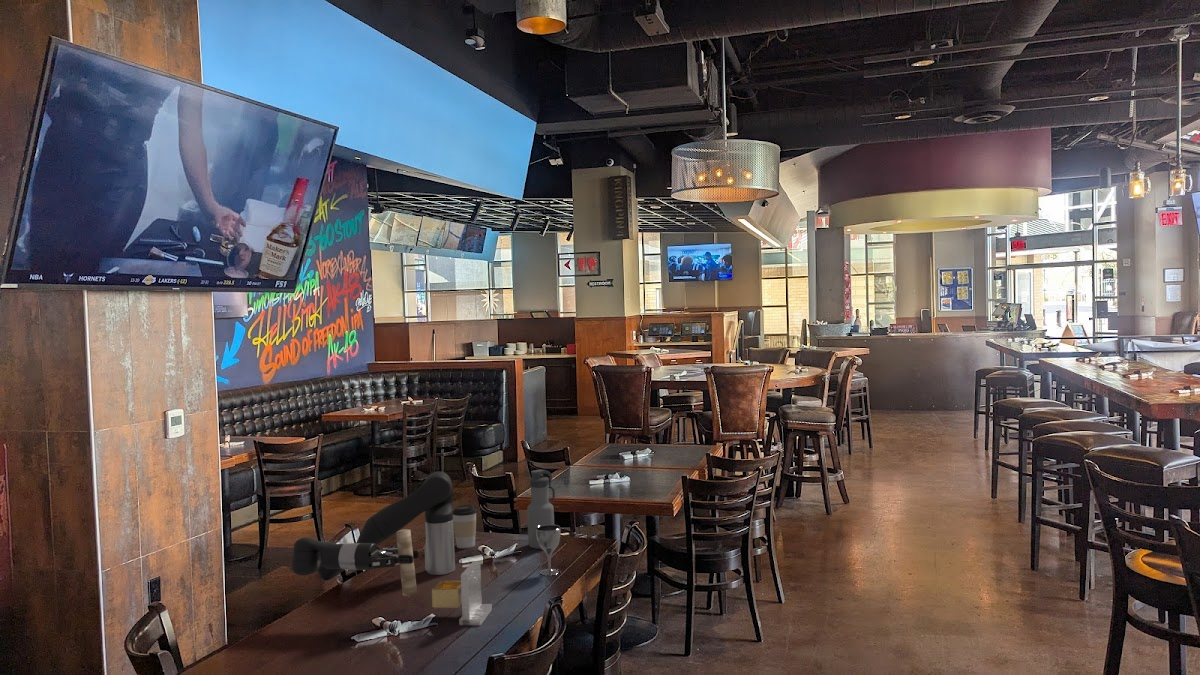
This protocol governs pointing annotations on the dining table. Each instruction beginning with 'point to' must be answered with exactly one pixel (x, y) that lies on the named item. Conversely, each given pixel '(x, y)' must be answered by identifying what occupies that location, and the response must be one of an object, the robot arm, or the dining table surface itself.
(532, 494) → the water bottle
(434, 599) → the cup bracket
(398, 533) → the rail post
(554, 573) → the wine glass
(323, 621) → the dining table surface
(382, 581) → the dining table surface
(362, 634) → the dining table surface
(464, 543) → the coffee cup
